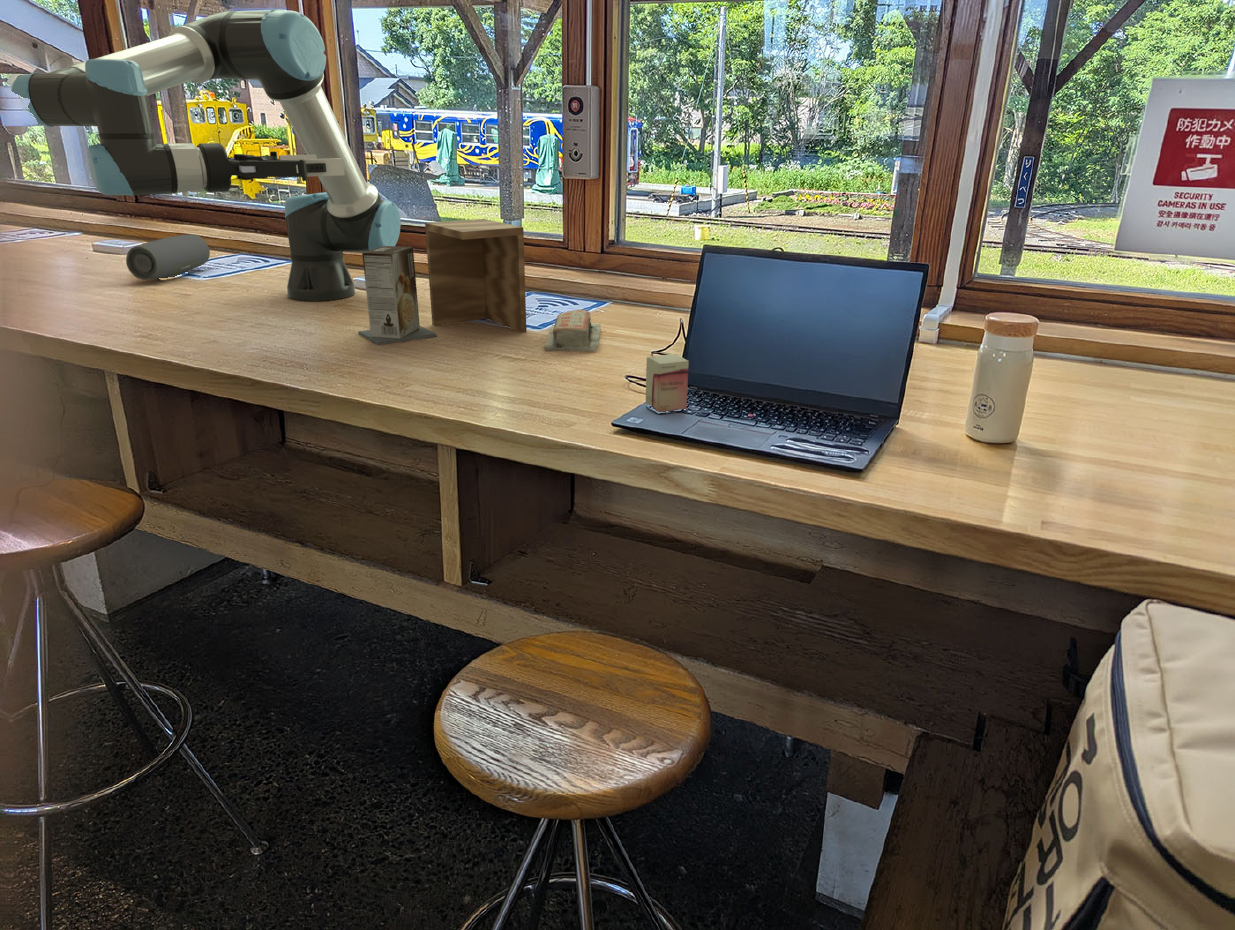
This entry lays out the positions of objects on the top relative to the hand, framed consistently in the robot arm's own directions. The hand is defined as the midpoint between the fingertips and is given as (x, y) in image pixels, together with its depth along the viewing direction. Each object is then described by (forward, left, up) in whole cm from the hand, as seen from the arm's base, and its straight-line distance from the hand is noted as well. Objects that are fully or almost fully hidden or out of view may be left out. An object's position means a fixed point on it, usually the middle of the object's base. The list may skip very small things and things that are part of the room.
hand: (329, 164), depth 152 cm
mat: (0, +10, -32) cm, 33 cm away
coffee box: (0, +9, -32) cm, 33 cm away
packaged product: (+22, +37, -33) cm, 54 cm away
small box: (+65, +25, -32) cm, 77 cm away
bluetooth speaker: (-91, -13, -32) cm, 97 cm away
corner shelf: (+4, +26, -32) cm, 41 cm away
